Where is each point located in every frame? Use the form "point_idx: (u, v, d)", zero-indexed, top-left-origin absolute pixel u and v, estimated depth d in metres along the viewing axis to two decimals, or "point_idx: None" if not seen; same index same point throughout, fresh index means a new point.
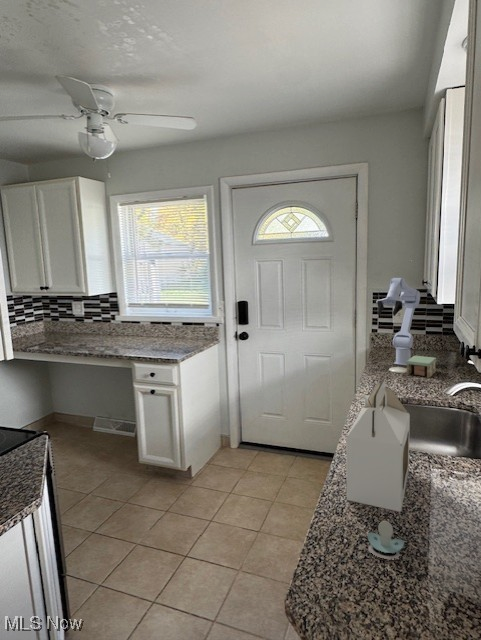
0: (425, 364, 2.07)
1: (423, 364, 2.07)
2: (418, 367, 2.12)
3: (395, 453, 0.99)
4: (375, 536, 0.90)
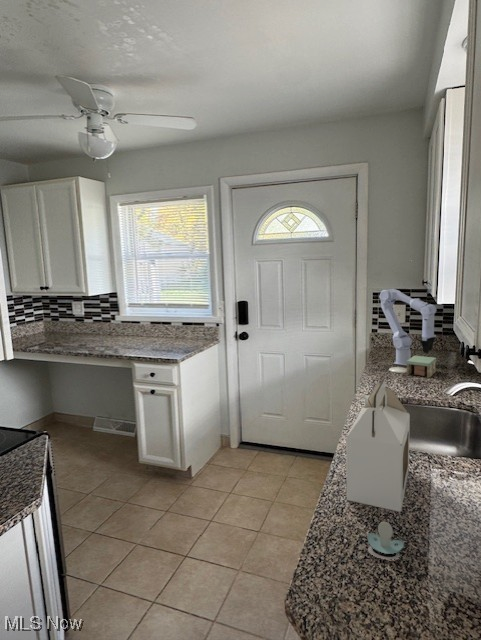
0: (425, 364, 2.07)
1: (423, 364, 2.07)
2: (418, 367, 2.12)
3: (395, 453, 0.99)
4: (375, 537, 0.90)
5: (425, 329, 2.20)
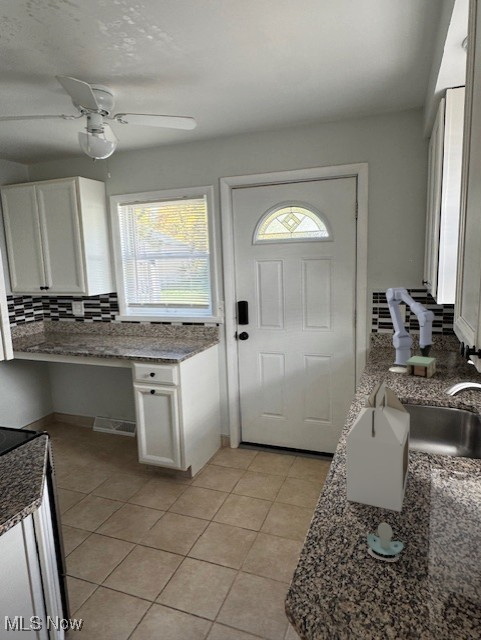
0: (425, 364, 2.06)
1: (423, 364, 2.07)
2: (418, 367, 2.12)
3: (395, 453, 0.99)
4: (374, 538, 0.89)
5: (423, 336, 2.17)
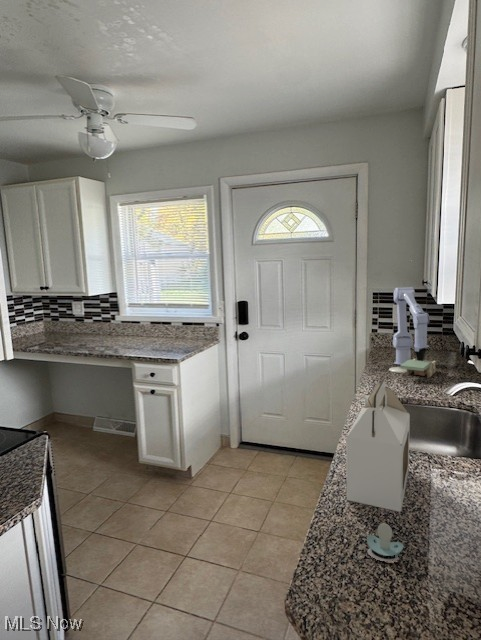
0: (419, 369, 1.99)
1: (417, 369, 1.99)
2: None
3: (395, 453, 0.99)
4: (374, 539, 0.89)
5: (417, 339, 2.09)
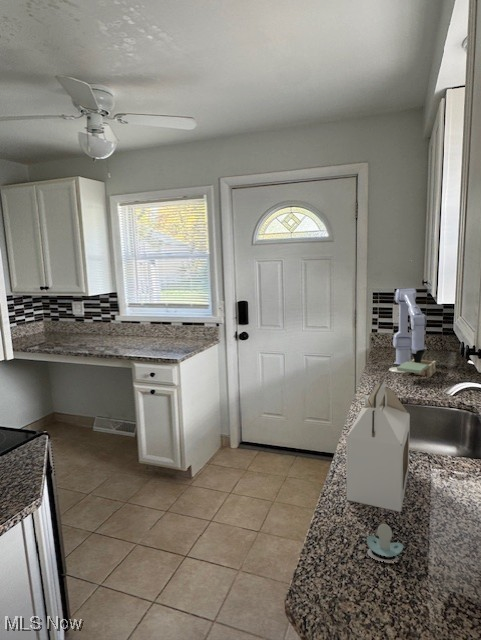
0: (416, 371, 1.95)
1: (414, 371, 1.96)
2: None
3: (395, 453, 0.99)
4: (374, 539, 0.89)
5: (415, 341, 2.06)
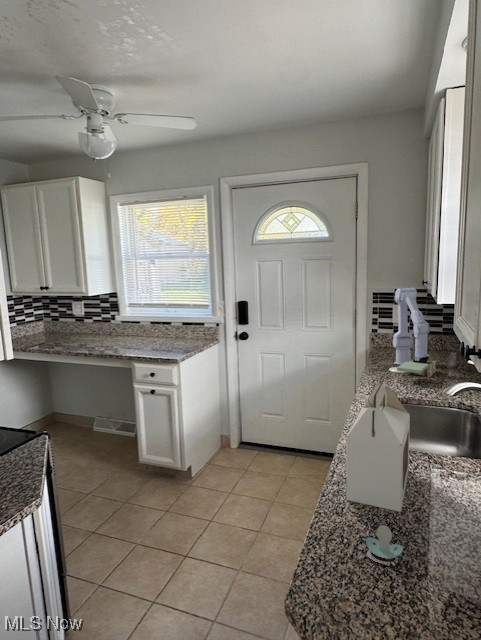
0: (416, 371, 1.95)
1: (414, 371, 1.96)
2: None
3: (395, 453, 0.99)
4: (374, 541, 0.88)
5: (418, 348, 2.11)
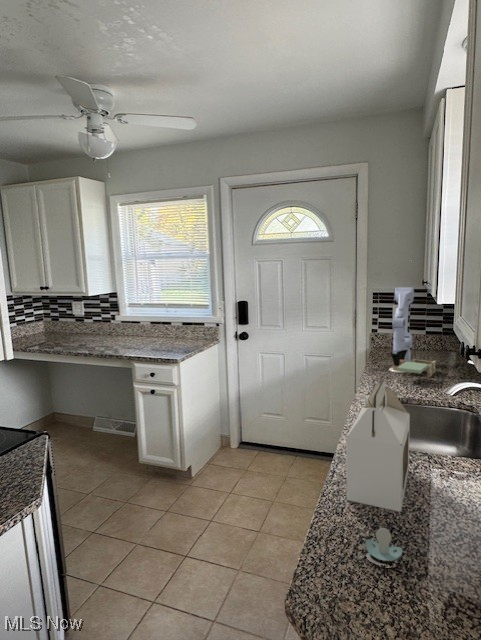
0: (416, 371, 1.95)
1: (414, 371, 1.96)
2: None
3: (395, 453, 0.99)
4: (373, 543, 0.88)
5: (396, 342, 2.19)
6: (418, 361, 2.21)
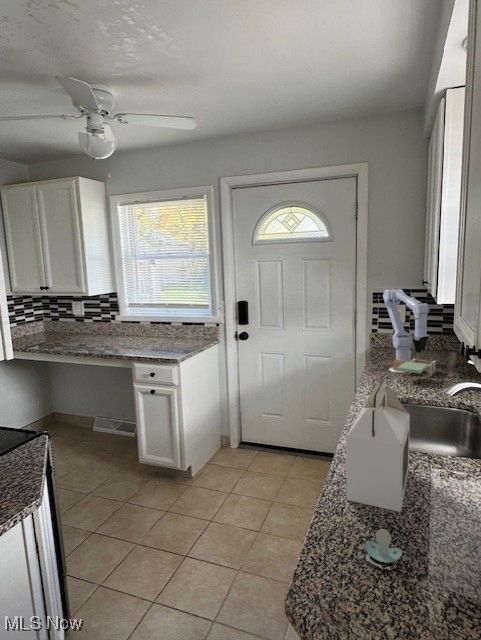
0: (416, 371, 1.95)
1: (414, 371, 1.96)
2: (396, 363, 2.20)
3: (395, 453, 0.99)
4: (373, 544, 0.87)
5: (418, 328, 2.17)
6: (418, 361, 2.21)
